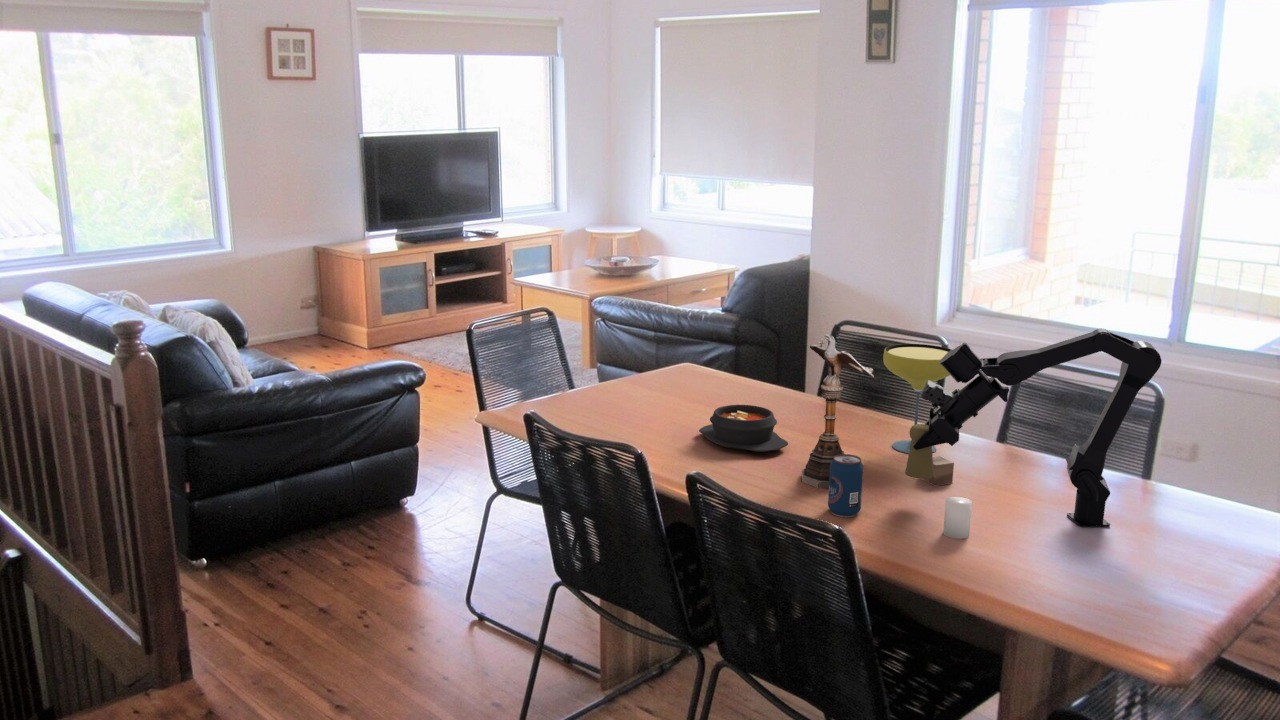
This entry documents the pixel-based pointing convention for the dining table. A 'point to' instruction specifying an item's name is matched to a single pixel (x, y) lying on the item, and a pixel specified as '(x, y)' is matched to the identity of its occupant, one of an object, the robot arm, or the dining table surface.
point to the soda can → (845, 485)
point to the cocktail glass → (915, 372)
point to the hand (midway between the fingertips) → (914, 444)
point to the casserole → (744, 428)
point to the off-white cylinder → (957, 517)
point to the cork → (919, 456)
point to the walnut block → (941, 471)
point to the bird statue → (829, 413)
